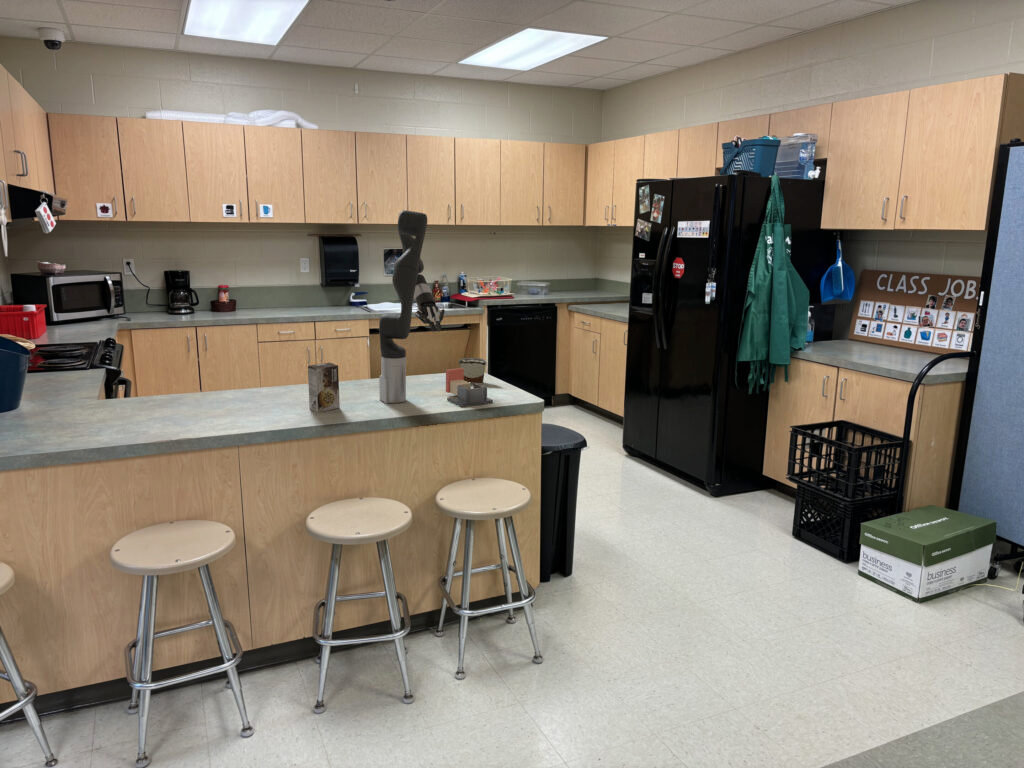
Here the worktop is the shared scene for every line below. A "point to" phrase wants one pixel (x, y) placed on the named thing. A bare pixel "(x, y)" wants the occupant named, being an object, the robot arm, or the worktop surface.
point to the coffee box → (323, 387)
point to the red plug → (455, 380)
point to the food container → (473, 369)
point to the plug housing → (470, 396)
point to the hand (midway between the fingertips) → (437, 330)
